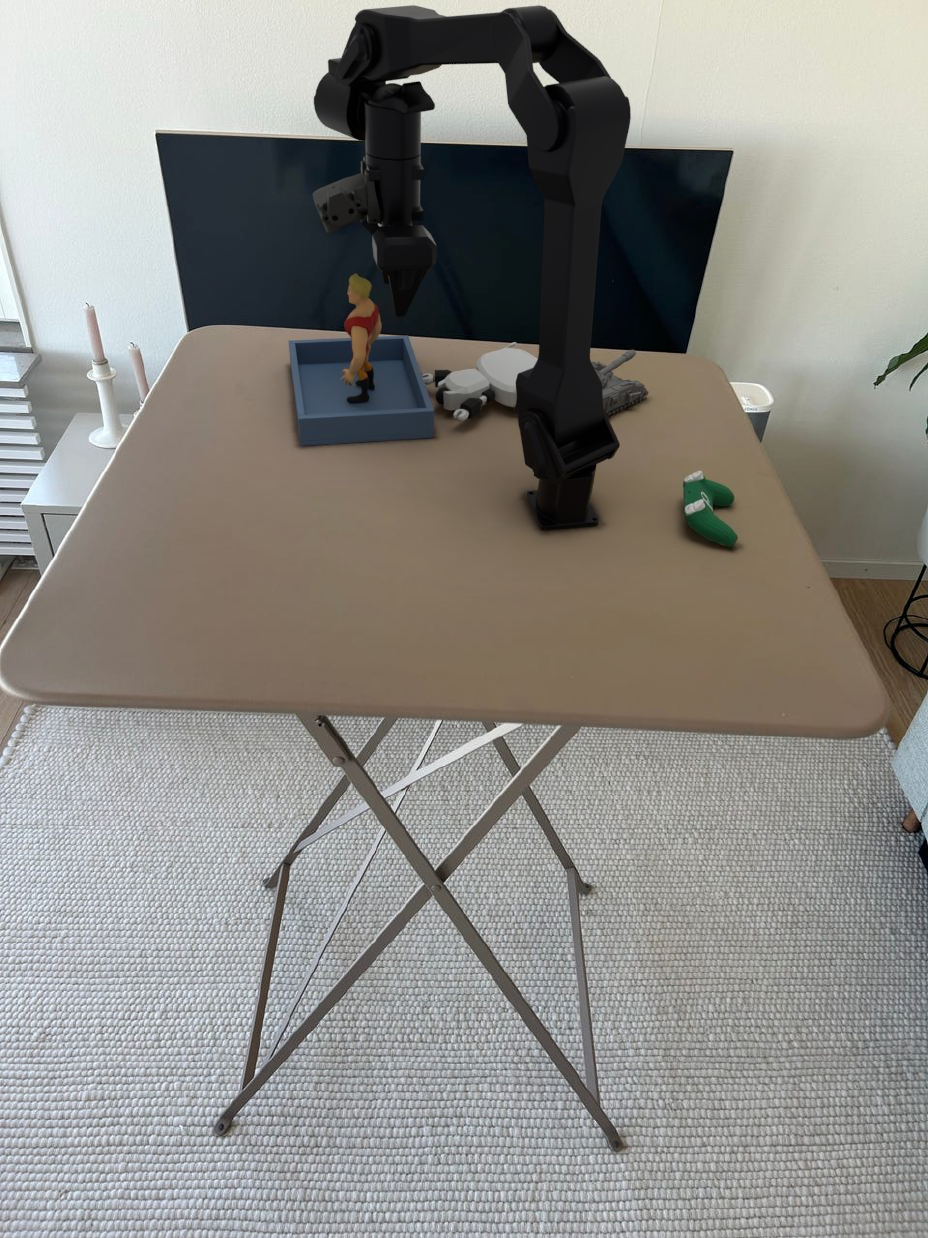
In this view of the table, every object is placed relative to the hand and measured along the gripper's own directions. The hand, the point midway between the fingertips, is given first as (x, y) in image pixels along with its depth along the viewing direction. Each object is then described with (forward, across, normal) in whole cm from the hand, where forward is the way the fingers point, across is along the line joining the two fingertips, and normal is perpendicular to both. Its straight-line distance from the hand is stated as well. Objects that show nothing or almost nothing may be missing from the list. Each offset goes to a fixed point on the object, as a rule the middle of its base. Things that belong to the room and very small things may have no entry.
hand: (394, 299), depth 102 cm
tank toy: (+13, +3, +26) cm, 29 cm away
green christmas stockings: (+13, +30, +29) cm, 44 cm away
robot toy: (+13, +2, +12) cm, 18 cm away
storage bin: (+13, 0, -5) cm, 14 cm away
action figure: (+12, -1, -4) cm, 13 cm away
